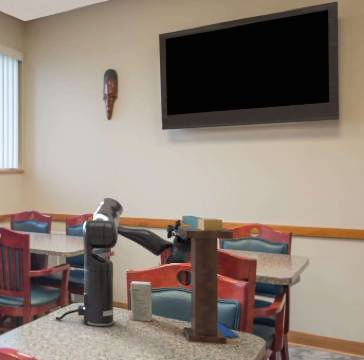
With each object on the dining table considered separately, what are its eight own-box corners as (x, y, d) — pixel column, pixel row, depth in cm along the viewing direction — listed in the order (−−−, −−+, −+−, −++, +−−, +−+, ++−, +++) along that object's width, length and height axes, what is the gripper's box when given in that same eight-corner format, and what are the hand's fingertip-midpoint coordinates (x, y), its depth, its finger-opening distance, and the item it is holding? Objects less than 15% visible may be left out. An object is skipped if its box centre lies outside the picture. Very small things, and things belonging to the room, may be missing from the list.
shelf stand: (186, 344, 138) (186, 230, 138) (178, 329, 152) (178, 226, 152) (233, 347, 136) (232, 231, 136) (220, 331, 149) (219, 226, 149)
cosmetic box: (152, 318, 164) (152, 282, 164) (151, 322, 160) (151, 284, 160) (132, 316, 166) (132, 280, 166) (130, 319, 162) (130, 282, 162)
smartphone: (212, 336, 144) (194, 320, 159) (212, 339, 144) (194, 323, 159) (238, 336, 144) (217, 320, 159) (238, 339, 144) (217, 323, 159)
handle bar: (203, 230, 139) (203, 219, 139) (179, 223, 161) (179, 214, 161) (222, 230, 138) (222, 220, 138) (194, 223, 161) (194, 214, 161)
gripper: (208, 252, 169) (218, 233, 155) (164, 251, 172) (170, 232, 158) (205, 232, 173) (215, 212, 159) (163, 232, 176) (169, 211, 162)
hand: (193, 222), depth 159 cm, fingers open, 8 cm apart
